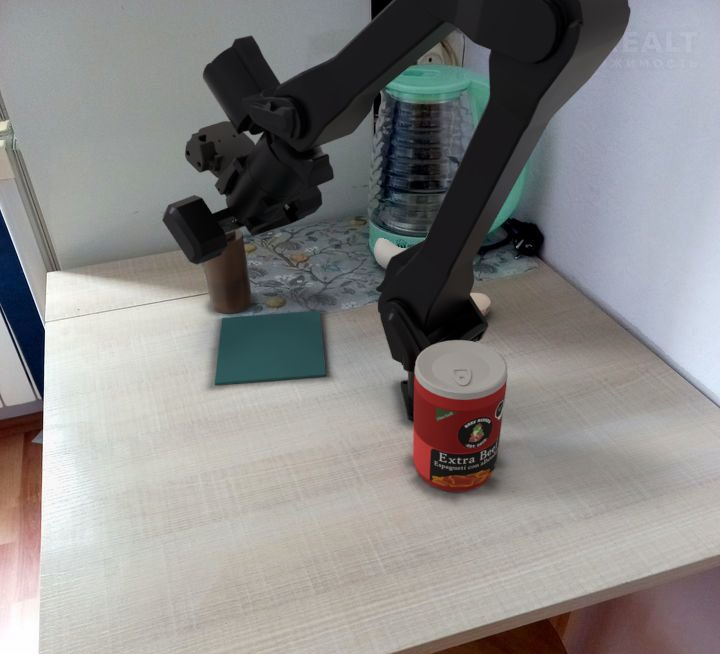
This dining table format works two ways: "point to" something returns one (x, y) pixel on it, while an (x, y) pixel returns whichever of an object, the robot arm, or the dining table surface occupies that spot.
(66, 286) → the dining table surface
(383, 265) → the donut
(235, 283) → the pepper mill
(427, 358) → the canned food
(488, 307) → the cream clam shell
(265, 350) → the napkin
